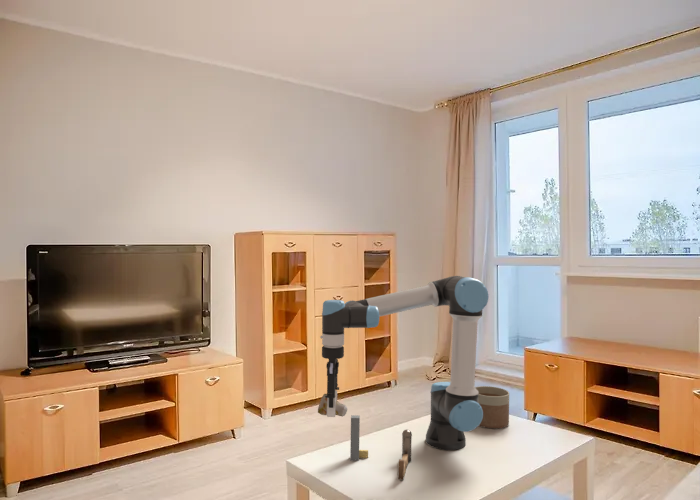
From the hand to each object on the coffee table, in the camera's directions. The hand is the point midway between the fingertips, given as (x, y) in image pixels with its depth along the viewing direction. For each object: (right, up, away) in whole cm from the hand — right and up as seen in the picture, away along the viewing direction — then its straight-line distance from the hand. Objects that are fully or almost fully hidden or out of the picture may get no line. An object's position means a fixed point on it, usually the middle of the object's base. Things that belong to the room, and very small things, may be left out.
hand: (332, 412), depth 176 cm
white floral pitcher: (0, -1, 0) cm, 1 cm away
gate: (+24, -18, -3) cm, 30 cm away
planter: (+66, -19, +46) cm, 83 cm away
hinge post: (+26, -19, +6) cm, 33 cm away
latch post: (+9, -19, +7) cm, 22 cm away
